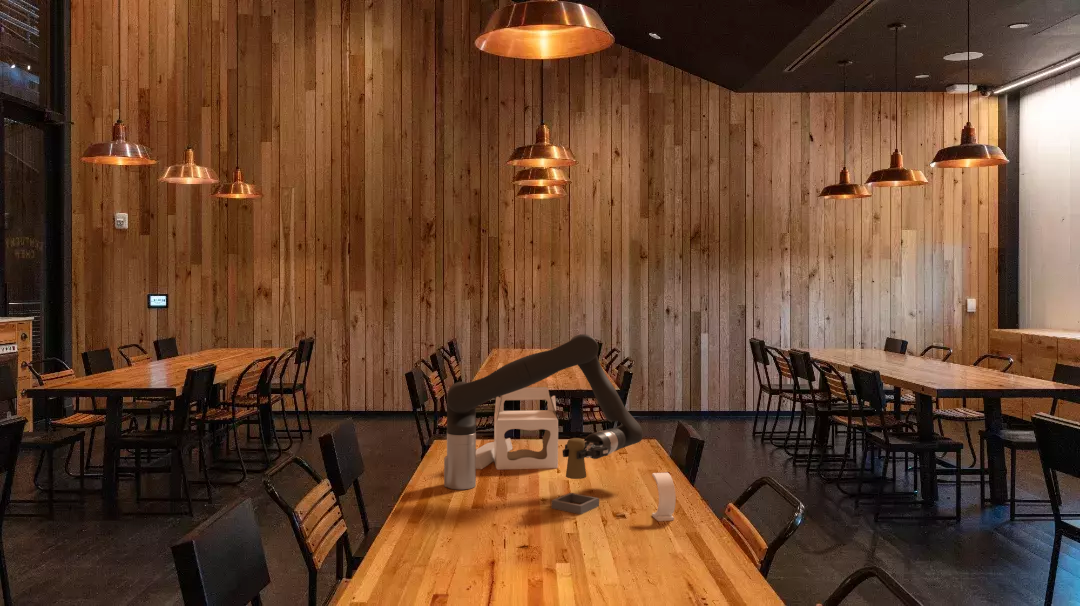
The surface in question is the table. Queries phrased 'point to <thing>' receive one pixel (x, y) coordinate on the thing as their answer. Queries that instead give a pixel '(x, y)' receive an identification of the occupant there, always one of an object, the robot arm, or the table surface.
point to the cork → (575, 459)
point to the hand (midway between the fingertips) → (570, 454)
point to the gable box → (526, 422)
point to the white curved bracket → (665, 497)
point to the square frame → (585, 506)
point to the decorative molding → (488, 454)
